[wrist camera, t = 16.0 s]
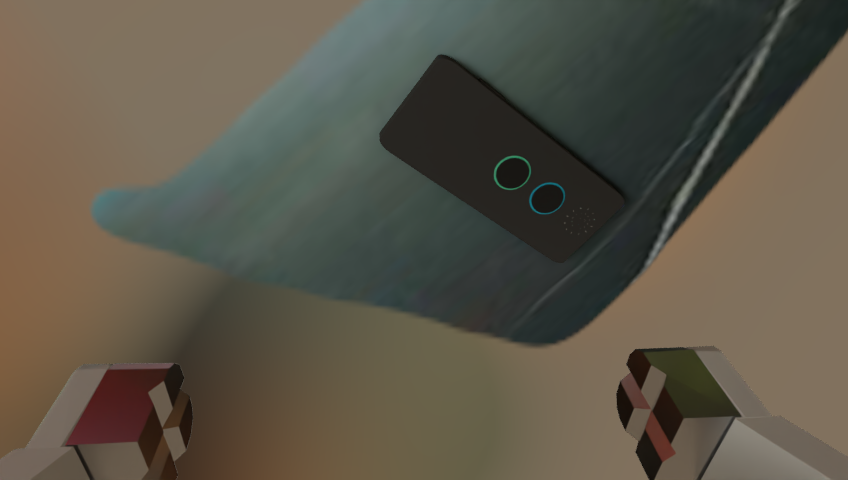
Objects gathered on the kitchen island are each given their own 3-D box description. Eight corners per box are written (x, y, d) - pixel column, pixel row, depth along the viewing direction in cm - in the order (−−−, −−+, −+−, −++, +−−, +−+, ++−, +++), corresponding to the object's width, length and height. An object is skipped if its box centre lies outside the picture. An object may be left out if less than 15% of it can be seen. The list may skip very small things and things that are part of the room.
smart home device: (559, 268, 47) (375, 145, 39) (554, 256, 48) (374, 136, 40) (630, 201, 43) (445, 52, 36) (622, 191, 45) (441, 46, 37)
